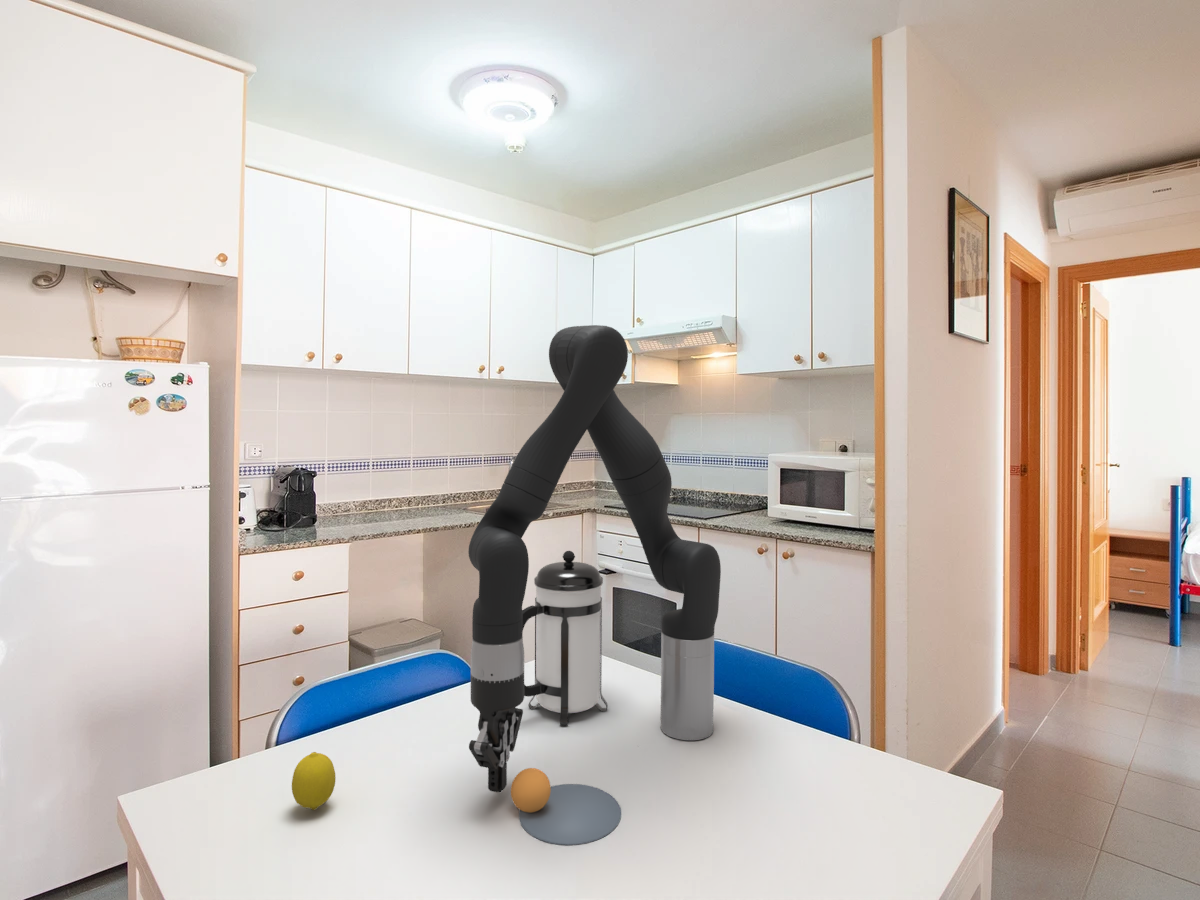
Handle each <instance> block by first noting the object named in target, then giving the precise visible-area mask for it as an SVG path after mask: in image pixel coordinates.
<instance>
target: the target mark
mask: <svg viewBox="0 0 1200 900" xmlns="http://www.w3.org/2000/svg"><path fill="white" fill-rule="evenodd" d="M550 787H551V792H550V797H549V799H548V801H547V803H546V804H545V806H544V807H543V808H542V809H540V810H538V811H536V812H532V813H528V812H524V811H521V810H520V809H519V812H518V820H519V822H520V826H521V827H522V828H523V829H524V831H525V832H526V833H527V834H529V836H532V838H534V839H537V840H539V841H542V842H544V843H548V844H553V845H559V846H560V845H561V846H577V845H585V844H589V843H593V842H596V841H598V840H601V839H602V838H605V837H606V836H608V835H610V834H611V833H612V832H613V831H615V829H616V828H617V827H618V825H619V824H620V821H621V818H622V809H621V806H620V804H619V802H618V801H617V799H616V798H615V797H614V796H613V795H612V794H610V793H609V792H608V791H605V790H603V789H601V788H598V787H595V786H592V785H588V784H579V783H565V784H564V783H563V784H556V785H552V786H551V785H550Z"/></svg>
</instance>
